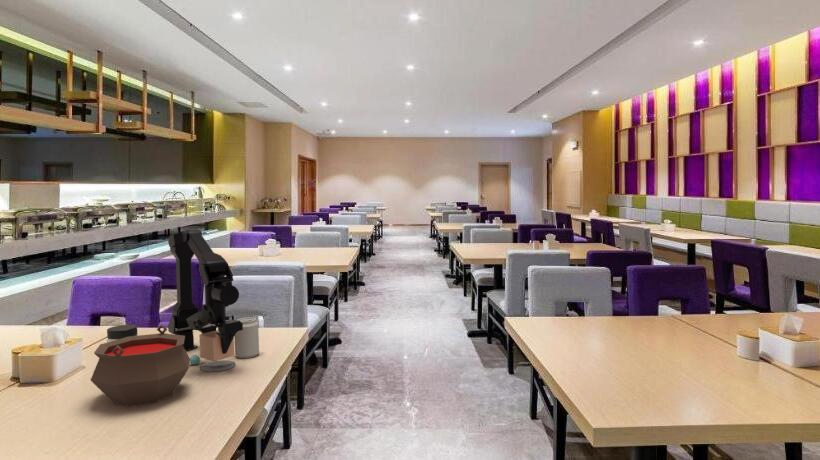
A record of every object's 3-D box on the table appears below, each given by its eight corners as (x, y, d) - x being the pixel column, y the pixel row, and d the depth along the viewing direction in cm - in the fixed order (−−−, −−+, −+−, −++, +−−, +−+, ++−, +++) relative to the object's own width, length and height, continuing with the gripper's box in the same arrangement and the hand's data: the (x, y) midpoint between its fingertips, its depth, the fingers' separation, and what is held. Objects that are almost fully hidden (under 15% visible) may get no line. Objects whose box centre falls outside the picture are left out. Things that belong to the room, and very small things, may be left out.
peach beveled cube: (200, 357, 160) (199, 334, 160) (220, 351, 166) (219, 329, 166) (213, 361, 156) (212, 337, 156) (234, 355, 162) (233, 332, 161)
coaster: (193, 368, 160) (193, 366, 160) (222, 359, 168) (222, 358, 168) (213, 374, 154) (213, 372, 154) (242, 364, 162) (242, 363, 162)
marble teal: (188, 364, 163) (187, 355, 163) (196, 362, 166) (196, 352, 166) (193, 366, 162) (193, 356, 161) (202, 364, 164) (202, 354, 164)
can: (252, 359, 168) (250, 322, 167) (230, 358, 169) (229, 321, 168) (263, 352, 175) (262, 316, 174) (242, 351, 177) (241, 316, 176)
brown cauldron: (125, 380, 151) (122, 323, 150) (208, 379, 150) (206, 322, 149) (68, 414, 127) (64, 347, 126) (167, 414, 126) (164, 346, 125)
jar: (137, 368, 161) (135, 329, 160) (106, 372, 158) (104, 332, 157) (140, 360, 169) (139, 323, 168) (111, 363, 166) (109, 325, 165)
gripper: (173, 301, 159) (175, 353, 160) (209, 308, 148) (211, 363, 149) (206, 295, 168) (208, 344, 169) (243, 302, 157) (245, 354, 158)
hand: (217, 351), depth 161 cm, fingers closed on peach beveled cube, 7 cm apart
